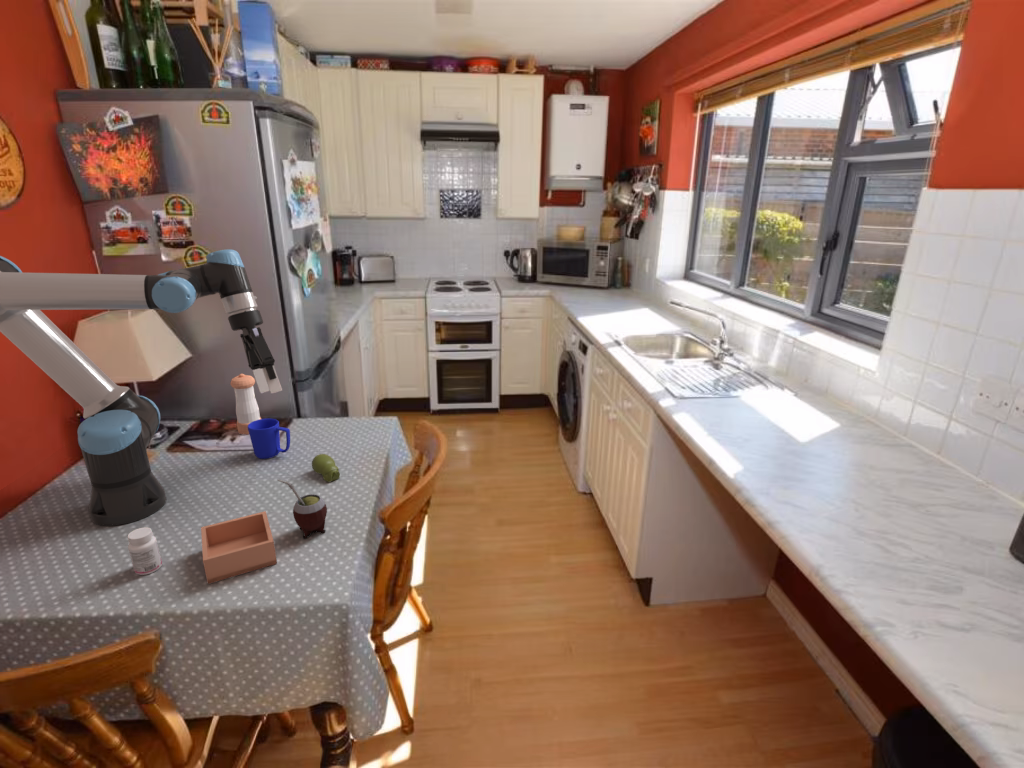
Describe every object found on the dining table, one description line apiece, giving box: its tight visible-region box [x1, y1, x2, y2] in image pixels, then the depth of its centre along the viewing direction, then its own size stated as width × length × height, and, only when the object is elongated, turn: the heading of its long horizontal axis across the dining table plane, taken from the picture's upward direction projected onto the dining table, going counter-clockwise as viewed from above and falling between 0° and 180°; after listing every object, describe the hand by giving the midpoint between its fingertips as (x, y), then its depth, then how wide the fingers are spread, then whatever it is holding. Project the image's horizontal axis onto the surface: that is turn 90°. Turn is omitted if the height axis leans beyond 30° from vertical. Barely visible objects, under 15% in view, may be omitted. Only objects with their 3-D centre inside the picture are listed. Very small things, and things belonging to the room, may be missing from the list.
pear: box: [311, 453, 341, 483], centre depth 144 cm, size 6×5×10 cm
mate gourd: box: [277, 478, 328, 540], centre depth 118 cm, size 8×8×15 cm
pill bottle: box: [127, 526, 163, 576], centre depth 106 cm, size 5×5×8 cm
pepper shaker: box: [229, 373, 262, 435], centre depth 168 cm, size 7×7×19 cm
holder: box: [200, 510, 278, 585], centre depth 111 cm, size 13×13×6 cm
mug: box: [248, 418, 291, 460], centre depth 153 cm, size 8×12×10 cm
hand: (271, 392), depth 137 cm, fingers open, 13 cm apart
